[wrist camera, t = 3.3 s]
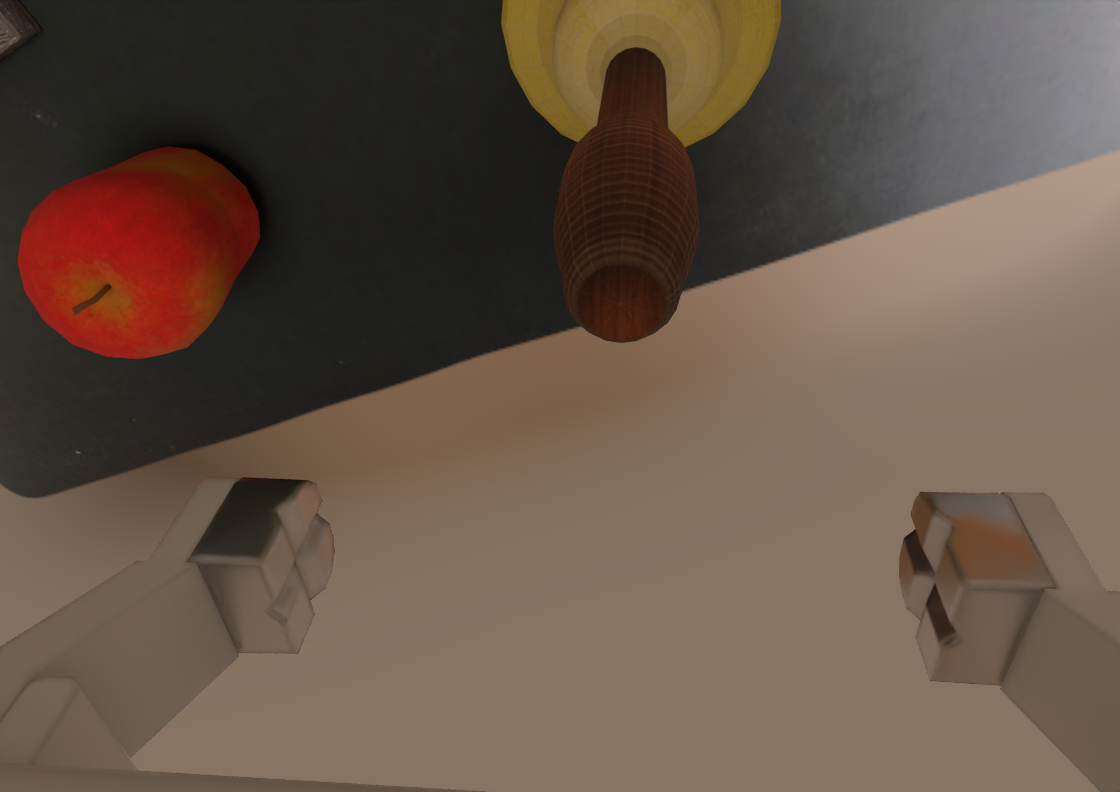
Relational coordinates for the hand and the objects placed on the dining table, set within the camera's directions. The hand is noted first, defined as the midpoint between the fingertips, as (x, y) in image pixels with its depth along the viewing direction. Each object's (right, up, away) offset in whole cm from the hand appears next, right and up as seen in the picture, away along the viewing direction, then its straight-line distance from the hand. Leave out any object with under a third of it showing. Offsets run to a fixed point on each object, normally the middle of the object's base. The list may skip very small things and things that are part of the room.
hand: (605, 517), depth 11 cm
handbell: (+3, +18, +25) cm, 31 cm away
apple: (-20, +12, +32) cm, 39 cm away
